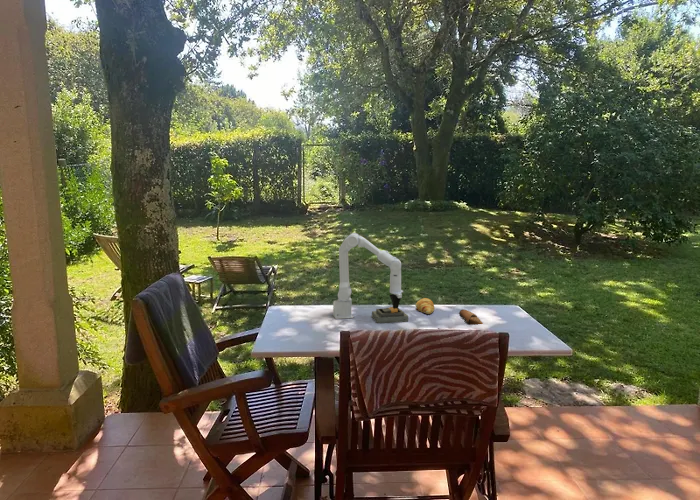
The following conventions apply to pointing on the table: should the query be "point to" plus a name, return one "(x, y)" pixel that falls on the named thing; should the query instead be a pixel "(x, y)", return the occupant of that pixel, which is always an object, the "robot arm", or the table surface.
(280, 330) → the table surface
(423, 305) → the croissant
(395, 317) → the breaker box
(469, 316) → the brown pointed cylinder
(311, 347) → the table surface
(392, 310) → the breaker switch
